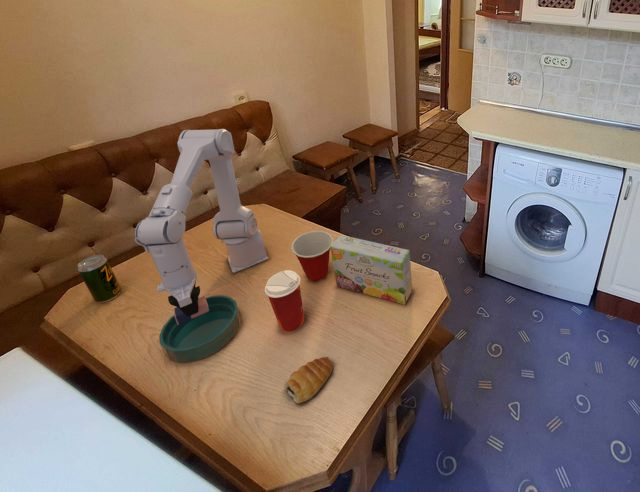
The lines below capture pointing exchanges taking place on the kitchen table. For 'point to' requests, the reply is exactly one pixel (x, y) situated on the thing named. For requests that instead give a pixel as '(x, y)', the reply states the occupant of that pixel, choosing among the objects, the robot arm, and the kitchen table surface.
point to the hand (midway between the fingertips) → (191, 308)
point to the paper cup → (286, 299)
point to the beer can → (99, 278)
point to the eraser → (183, 318)
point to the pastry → (309, 379)
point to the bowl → (201, 331)
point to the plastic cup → (313, 253)
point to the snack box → (372, 268)
